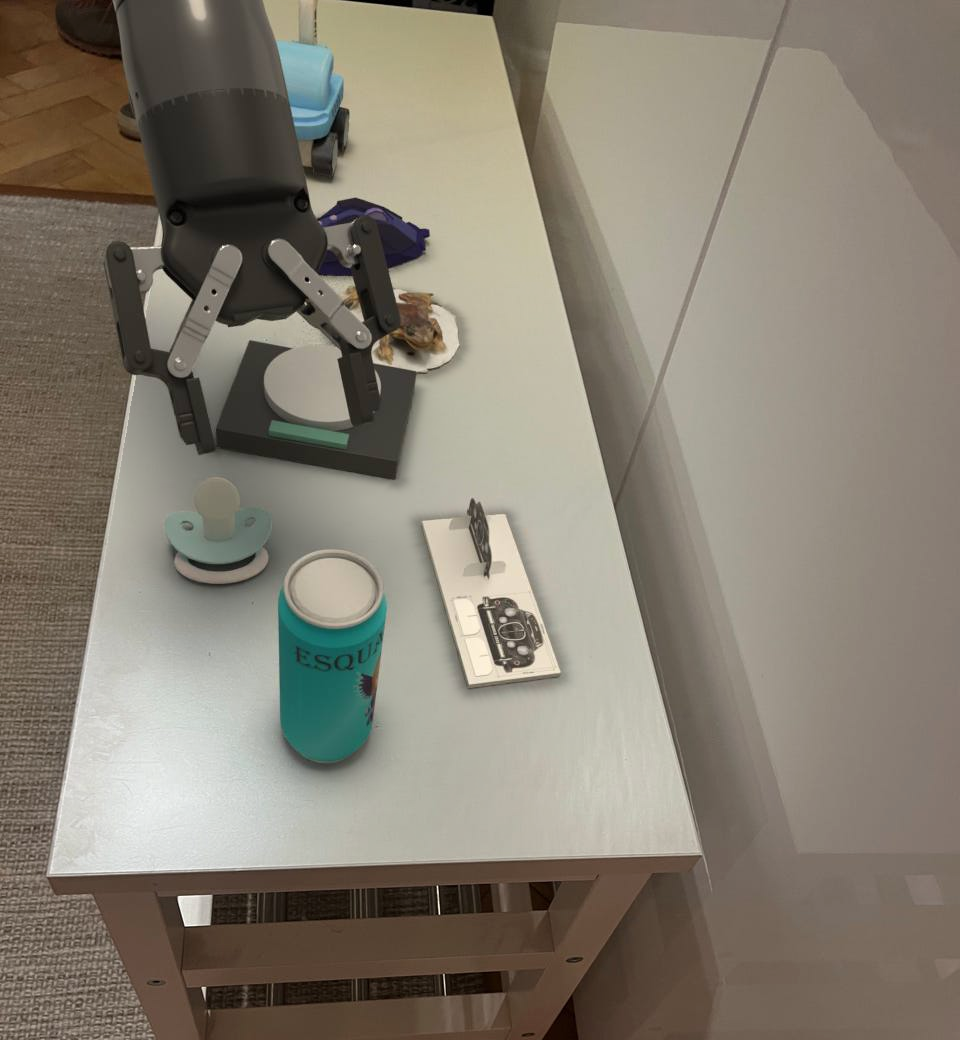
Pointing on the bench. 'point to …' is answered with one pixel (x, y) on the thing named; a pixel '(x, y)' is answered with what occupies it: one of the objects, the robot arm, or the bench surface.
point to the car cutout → (488, 599)
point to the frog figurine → (413, 332)
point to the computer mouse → (394, 233)
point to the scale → (313, 411)
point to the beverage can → (329, 653)
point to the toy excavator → (314, 95)
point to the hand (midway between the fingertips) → (287, 438)
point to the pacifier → (219, 534)
